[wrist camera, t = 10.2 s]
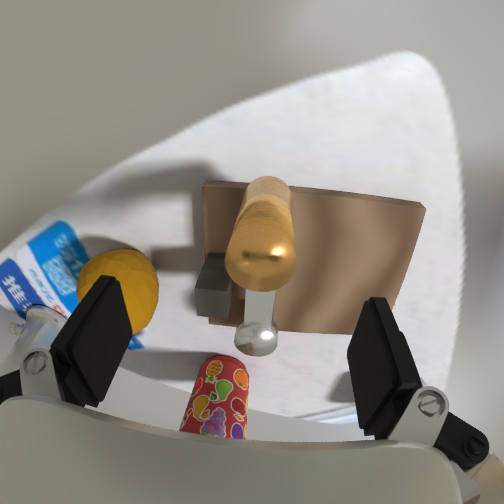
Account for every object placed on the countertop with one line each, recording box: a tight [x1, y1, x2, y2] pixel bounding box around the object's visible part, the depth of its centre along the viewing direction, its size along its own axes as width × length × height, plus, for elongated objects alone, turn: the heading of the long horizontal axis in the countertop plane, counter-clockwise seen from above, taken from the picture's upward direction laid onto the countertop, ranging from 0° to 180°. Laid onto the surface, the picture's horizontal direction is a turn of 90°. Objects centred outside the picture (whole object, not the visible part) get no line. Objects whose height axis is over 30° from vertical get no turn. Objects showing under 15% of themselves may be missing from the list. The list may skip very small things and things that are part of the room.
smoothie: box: [179, 356, 249, 440], centre depth 31 cm, size 8×8×20 cm
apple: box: [76, 249, 159, 334], centre depth 28 cm, size 9×8×9 cm
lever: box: [225, 176, 296, 356], centre depth 21 cm, size 18×4×10 cm, turn 177°
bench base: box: [195, 181, 426, 335], centre depth 27 cm, size 20×16×7 cm
